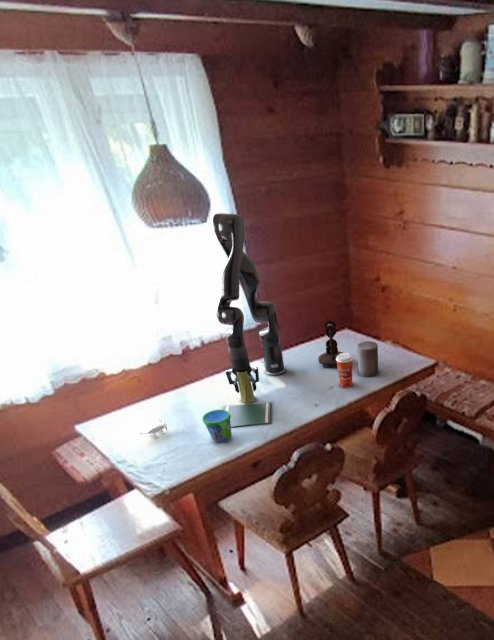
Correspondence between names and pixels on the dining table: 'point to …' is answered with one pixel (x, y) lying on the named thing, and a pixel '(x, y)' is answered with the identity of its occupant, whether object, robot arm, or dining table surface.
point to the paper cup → (345, 369)
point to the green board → (249, 414)
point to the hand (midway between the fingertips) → (246, 391)
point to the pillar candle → (368, 358)
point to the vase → (245, 388)
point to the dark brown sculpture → (330, 346)
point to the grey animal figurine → (157, 428)
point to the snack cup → (218, 425)
